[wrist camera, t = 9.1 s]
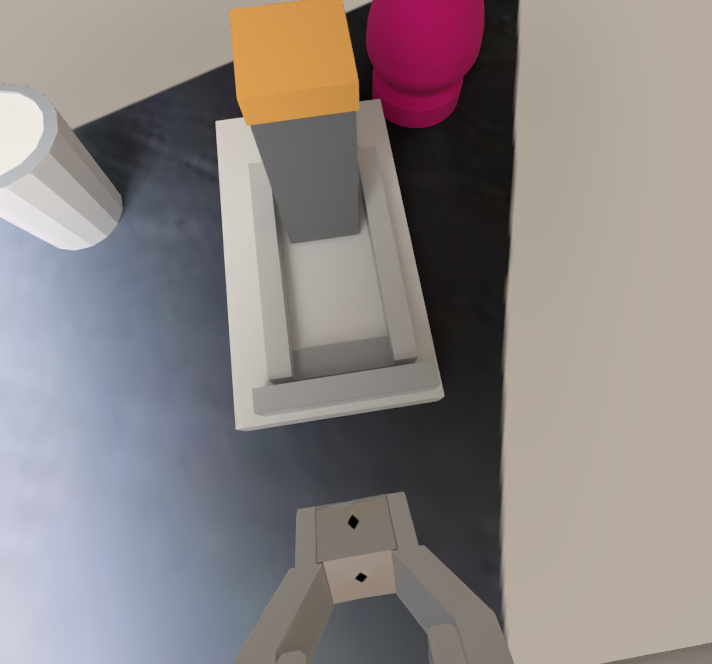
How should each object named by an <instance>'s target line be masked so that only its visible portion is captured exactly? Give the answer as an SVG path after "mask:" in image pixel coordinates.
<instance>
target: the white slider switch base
mask: <svg viewBox="0 0 712 664" xmlns="http://www.w3.org/2000/svg"><path fill="white" fill-rule="evenodd" d="M356 127H357V175H358V224H359V234H356V235H350V236H343V237H336V238H329V239H322V240H315V241H308V242H301V243H295V244H291V242H290V240H289V237H288V234H287V231H286V228H285V225H284V222H283V219H282V217H281V214H280V211H279V208H278V205H277V202H276V199H275V196H274V194H273V191H272V188H271V185H270V182H269V179H268V176H267V173H266V170H265V168H264V165H263V162H262V159H261V156H260V153H259V150H258V147H257V145H256V142H255V139H254V136H253V133H252V130H251V127H250V125H249V126H247V125H246V123H245V120H244V117H243V118H236V119H228V120H221V121H216V135H217V151H218V166H219V181H220V196H221V212H222V227H223V242H224V258H225V273H226V288H227V303H228V319H229V334H230V349H231V364H232V380H233V395H234V410H235V426H236V429H237V430H242V431H251V430H258V429H264V428H270V427H277V426H283V425H289V424H296V423H302V422H308V421H315V420H321V419H327V418H334V417H340V416H346V415H353V414H359V413H365V412H372V411H378V410H384V409H391V408H397V407H403V406H410V405H416V404H422V403H429V402H435V401H439V400H440V399H442V398H443V397H445V396H444V391H443V387H442V382H441V377H440V373H439V368H438V363H437V359H436V354H435V350H434V345H433V340H432V336H431V331H430V327H429V322H428V317H427V313H426V308H425V303H424V299H423V294H422V290H421V285H420V280H419V276H418V271H417V266H416V262H415V257H414V253H413V248H412V243H411V239H410V234H409V229H408V225H407V220H406V216H405V211H404V206H403V202H402V197H401V192H400V188H399V183H398V179H397V174H396V169H395V165H394V160H393V155H392V151H391V146H390V142H389V137H388V132H387V128H386V123H385V118H384V114H383V109H382V105H381V100H380V99H375V100H368V101H360V102H359V111H356Z"/></svg>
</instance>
